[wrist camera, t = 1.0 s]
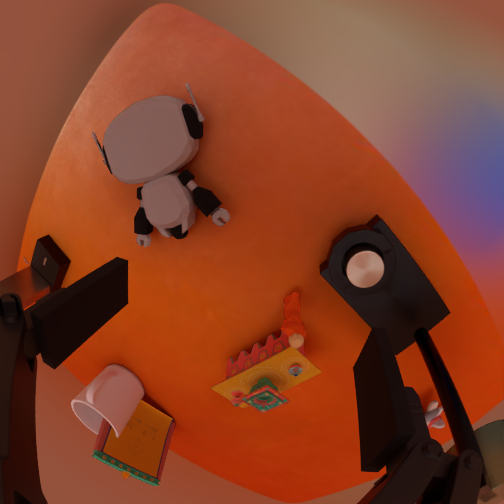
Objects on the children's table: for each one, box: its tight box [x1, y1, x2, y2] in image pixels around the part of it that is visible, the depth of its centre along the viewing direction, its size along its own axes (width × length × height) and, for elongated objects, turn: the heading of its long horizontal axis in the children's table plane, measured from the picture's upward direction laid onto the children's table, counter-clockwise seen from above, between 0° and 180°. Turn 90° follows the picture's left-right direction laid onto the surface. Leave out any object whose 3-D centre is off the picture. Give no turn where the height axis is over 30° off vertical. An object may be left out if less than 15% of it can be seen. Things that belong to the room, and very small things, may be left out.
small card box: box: [0, 266, 51, 309], centre depth 32 cm, size 6×2×9 cm, turn 59°
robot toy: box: [92, 82, 230, 247], centre depth 28 cm, size 12×4×15 cm
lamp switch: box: [345, 245, 384, 288], centre depth 25 cm, size 3×3×2 cm
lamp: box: [414, 327, 504, 504], centre depth 17 cm, size 10×7×19 cm
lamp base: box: [320, 215, 450, 355], centre depth 27 cm, size 16×8×4 cm, turn 47°
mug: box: [71, 364, 144, 437], centre depth 38 cm, size 11×9×10 cm
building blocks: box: [92, 292, 322, 486], centre depth 31 cm, size 12×35×14 cm, turn 129°
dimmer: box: [24, 235, 70, 303], centre depth 38 cm, size 12×10×3 cm
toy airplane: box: [424, 400, 445, 428], centre depth 31 cm, size 9×9×6 cm
